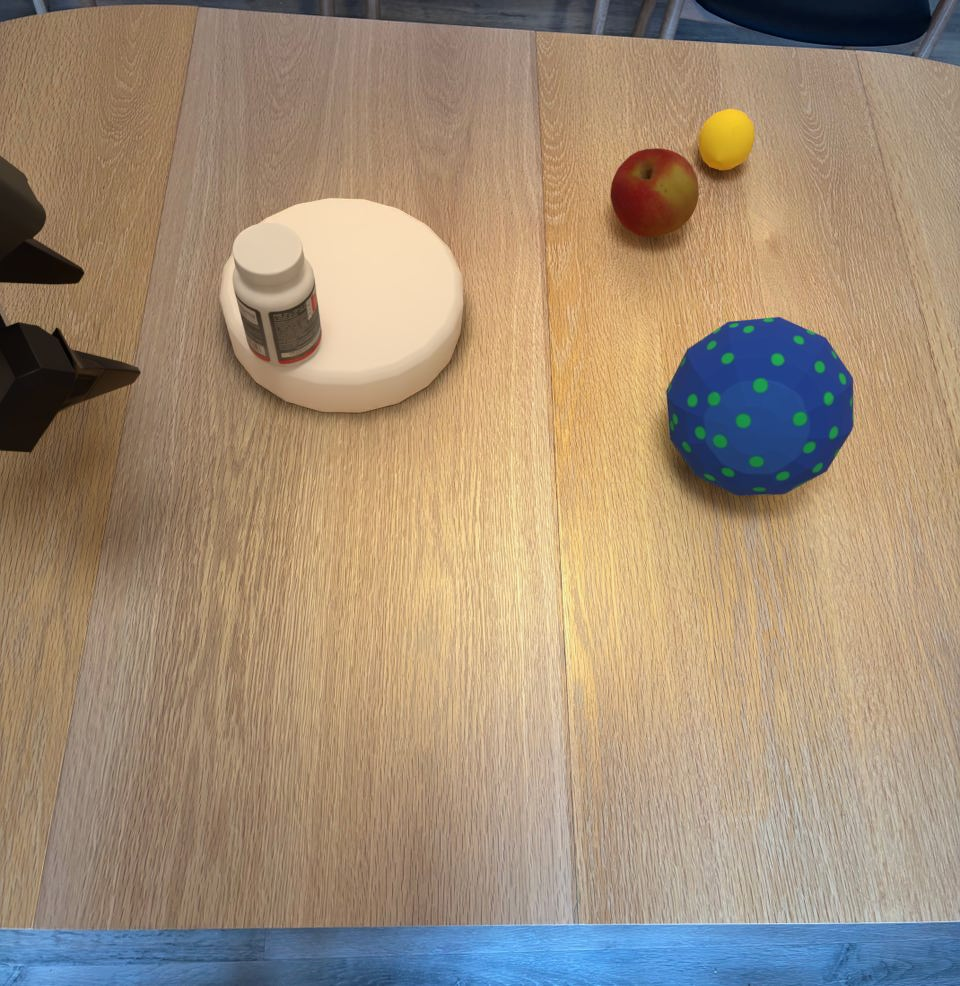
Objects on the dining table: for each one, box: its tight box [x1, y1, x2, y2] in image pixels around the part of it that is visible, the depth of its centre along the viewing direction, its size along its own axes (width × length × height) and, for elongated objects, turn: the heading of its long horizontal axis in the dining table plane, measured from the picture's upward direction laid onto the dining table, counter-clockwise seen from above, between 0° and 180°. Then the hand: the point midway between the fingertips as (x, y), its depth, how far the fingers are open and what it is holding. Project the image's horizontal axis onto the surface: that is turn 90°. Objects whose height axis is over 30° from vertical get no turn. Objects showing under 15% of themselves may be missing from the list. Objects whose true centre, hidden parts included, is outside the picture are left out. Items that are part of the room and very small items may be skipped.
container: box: [218, 197, 464, 414], centre depth 72 cm, size 20×20×5 cm
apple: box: [609, 147, 700, 238], centre depth 79 cm, size 8×8×8 cm
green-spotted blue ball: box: [665, 316, 855, 497], centre depth 67 cm, size 14×14×15 cm
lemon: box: [698, 108, 756, 171], centre depth 85 cm, size 7×5×5 cm
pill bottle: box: [231, 222, 322, 366], centre depth 62 cm, size 6×6×10 cm
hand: (108, 324), depth 55 cm, fingers open, 9 cm apart
